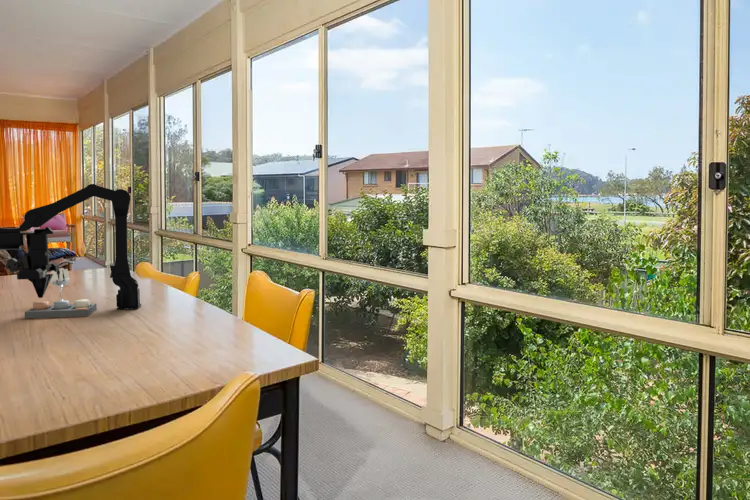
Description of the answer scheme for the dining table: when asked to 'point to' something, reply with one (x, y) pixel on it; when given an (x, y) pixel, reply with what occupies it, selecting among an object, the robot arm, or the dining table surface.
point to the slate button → (61, 304)
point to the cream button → (81, 303)
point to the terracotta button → (41, 305)
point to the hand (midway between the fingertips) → (40, 297)
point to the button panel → (60, 312)
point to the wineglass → (60, 279)
